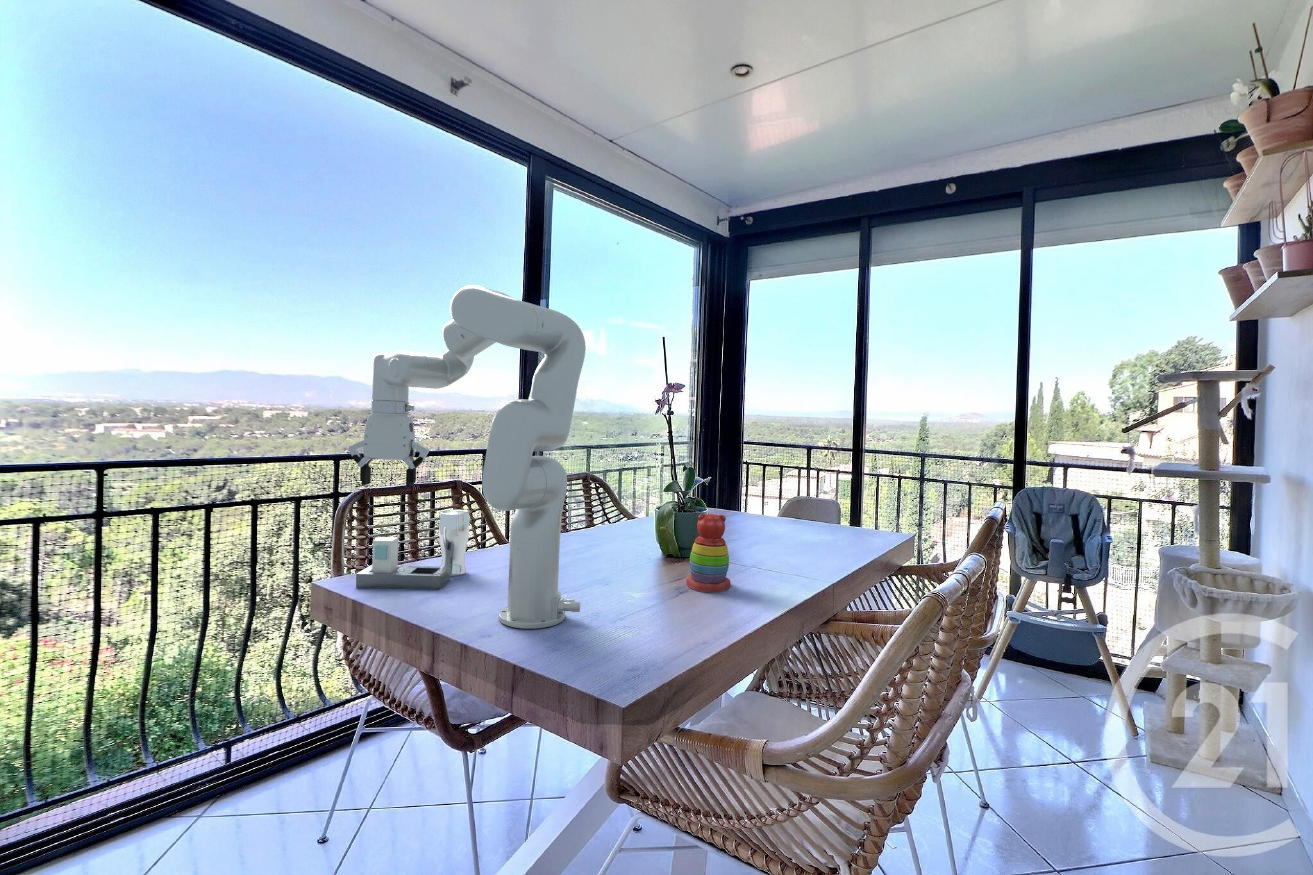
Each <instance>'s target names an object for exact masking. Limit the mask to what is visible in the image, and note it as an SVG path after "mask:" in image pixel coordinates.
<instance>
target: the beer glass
mask: <svg viewBox="0 0 1313 875" xmlns="http://www.w3.org/2000/svg"><path fill="white" fill-rule="evenodd" d="M438 525H439V527H438V531H439V532H438V536H439V543H440V549H441V550H440V552H441V565H440V567H450V577H458V576H462V575H464V574H466V573H467V567H466V550H467V546H468V543H469V542H468V541H469V537H470V512H469V511H468V510H464V509H447V510H441V511H440V516H439V524H438Z"/></svg>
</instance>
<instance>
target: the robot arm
mask: <svg viewBox="0 0 1313 875" xmlns="http://www.w3.org/2000/svg"><path fill="white" fill-rule="evenodd" d="M449 313H450V317H451V320H449V321H448V322H446V323H445V324H444V325H443V328H442V333H441V334H442V335H441V336H442V339H443V343H444V345H445V346H446V348H447V350H446V351H444V352H443V353H440V354H439V355H435V354H431V353H429V354H428V353H423V352H413V351H405V350H403V351H396V352H394V353H387V352H385V353H384V352H381V353H376V354H375V355H374V356H373V358H372V374H371V375H372V376H371V379H372V380H371V414H368V416H367V420H366V423H365V429H364V435H363V439H362V440H361V441H359V442H357V443H355V444H352V445H349V446H348V448H347V449H348V451H349V453H350V455H351V457H352V460H353V461H354V462H355V463H356V464H357V466H358V467H359V480H360V481H361V486H367V485H370V484H371V481H372V480H371V479H372V466H370V464H371V463H372V462H373V460H386V461H387V460H389V461H403V462H404V464H406V466H407V468H406V470H405V471H406V473H405V486H406V487H412V486H414V485H415V483H416V481H417V469H418V467H419V466H420V465H421V464H422V463H423V462H424V461H425V459H426V457H427V456H428V454H429V452H430V450H429V449H428V448H427V447H425V446H423V445H421V444H420V443H418V442H416V438H415V428H414V420H413V416H410V415H409V414H410V412H414V411H415V405H414V404H410V402H409V391H410V390H409V388H422V389H423V388H424V389H434V390H435V389H443V388H446V387H448V386H451V385H452V384H454V383H456V382H457V381H459V380H461V378H464V376H466V375H467V374H468V372H469V371H470V369H471V368H472V366H473V363H474V359H475V356H477V355H479V354H480V353H482V352H484V351H485V350H486V349H488V348H490V347H491V346H493V345H495V344H499V345H503V346H506V347H511V348H514V349H521V350H525V351H531V352H532V351H533V352H538V353H541V354H543V356H544V357H543V358H542V360H541V361H540V362H539V364H538V366H537V367H536V369H535V371H534V374H533V377H532V384H531V389H530V391H529V392H530V393H529V396H528V399H524V398H517V399H512V400H508V401H507V402H504V403H503V405H501V406H500V407H499V408H498V409H497V411H496V412H495V415H494V416H493V418H492V421H491V425H490V428H489V429H490V430H489V434H488V441H487V446H486V453H485V460H484V463H483V464H484V465H483V470H482V471H483V472H482V480H481V482H482V484H481V485H482V492H483V496H484V498H485V500H486V502H487V503H488V504H489V506H491V508H494V509H496V510H497V511H504V512H505V511H506V512H509V511H514V513H513V516H512V520H511V525H510V534H509V535H510V536H509V558H508V561H509V562H508V582H507V583H508V588H507V606H506V607H504V608H502V609H501V610H500V611H499V613H498V620H499V621H500V622H501V624H503V625H505V626H508V627H511V628H515V629H522V630H523V629H526V630H528V629H529V630H531V629H542V628H543V629H545V628H549V627H553V626H556V625H559V624H560V623H562V622H563V621H564V620H565V618H566V612H570V613H580V612H581V601H576V599H575V598H569V599H568V598H567V599H566V598H564V597H561V596H562V595H561V594H562V592H561V591H559V573H560V549H561V548H560V547H561V546H560V545H561V527H562V517H563V509H564V503H565V500H566V495H567V491H568V490H567V489H568V476H567V472H566V470H565V468H564V466H563V465H562V464H561V462H559V461H558V460H557V459H555V458H553V457H550V456H547V455H533V453H534V452H544V451H553V450H557V449H561V448H562V447H563V446H564V445H565V444H566V442H567V439H568V438H569V434H570V431H571V426H572V420H573V413H574V408H575V402H576V399H577V393H578V392H577V390H578V387H579V386H578V385H579V381H580V376H581V373H582V370H583V366H584V362H585V357H586V346H587V345H586V340H585V336H584V333H583V332H582V329H581V328H580V326H579V325H578V323H577V322H575V321H574V320H573V319H572V318H570V317H569V316H567V315H566V314H564V313H562V312H560V311H558V310H554V309H551V308H548V307H544V306H540V305H537V304H533V303H530V302H527V301H522V300H520V299H516V298H514V297H513V298H512V296H510V295H509V294H507V293H504V292H501V291H497V290H494V289H491V288H487V287H484V286H481V285H476V284H470V285H466V286H463V287H461V288H460V289H459V290H458V291H456V292H455V293H454V294H453V297H452V298H451V300H450V304H449ZM360 449H362V452H363V453H362V455H363V456H362V455H361V454H360V453H359V450H360ZM416 451H417V452H419V455H418V457H417V458H416V459H414V457H415V455H416Z"/></svg>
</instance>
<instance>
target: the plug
mask: <svg viewBox="0 0 1313 875" xmlns="http://www.w3.org/2000/svg"><path fill="white" fill-rule="evenodd" d="M398 560H399V537H396V536H395V537H393V536H389V537H388V536H380V537H378V538H376V539H373V540H372V560H371V561H372V562H371V563H372V564H371V565H372V572H373V573H393V572H394V571H396V570H397V569H398V564H399V563H398V562H399V561H398Z"/></svg>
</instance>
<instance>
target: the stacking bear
mask: <svg viewBox="0 0 1313 875" xmlns="http://www.w3.org/2000/svg"><path fill="white" fill-rule="evenodd" d="M697 519H698V521H697V524H696V525H697V526H696V528H697V533H698V534H699V535H698V536H697V537H696V538H695V540H694V541H693V542H694V543H693V545H692V548H691V552H690V556H689V568H690V575H688V576H687V578H686V582H685V584H686V586H687V587H688V586H689V587H688V588H690V589H691V588H692V589H691V590H694V591H696V590H697V592H701V593H706V592H718V593H723V592H725V590H726V591H727V590H729V589H730V588H731V584H732V583H731V579H730V578H728V577H727V575H728V574H727V573H728V571H729V566H730V556H729V548H728V544H726V543H727V542H726V540H725V539H724V538H723V536H724V534H725V530H726V523H725V522H726V520H727V519H726V516H725V515H724V514H720V515H718V514H715V513H706V514H705V513H700V514H699V515H698V518H697ZM722 591H723V592H722Z"/></svg>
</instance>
